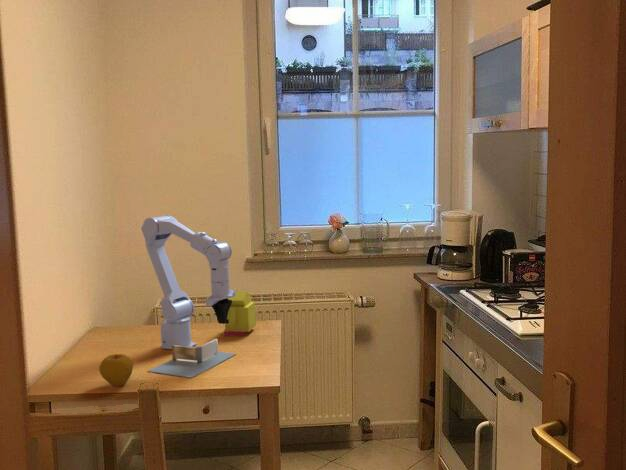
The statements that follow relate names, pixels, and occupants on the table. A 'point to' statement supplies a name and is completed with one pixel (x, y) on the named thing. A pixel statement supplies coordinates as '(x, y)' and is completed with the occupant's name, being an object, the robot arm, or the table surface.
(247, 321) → the toy
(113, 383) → the apple
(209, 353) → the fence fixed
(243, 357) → the table surface
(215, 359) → the mat
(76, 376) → the table surface
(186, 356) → the fence panel
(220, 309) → the robot arm
